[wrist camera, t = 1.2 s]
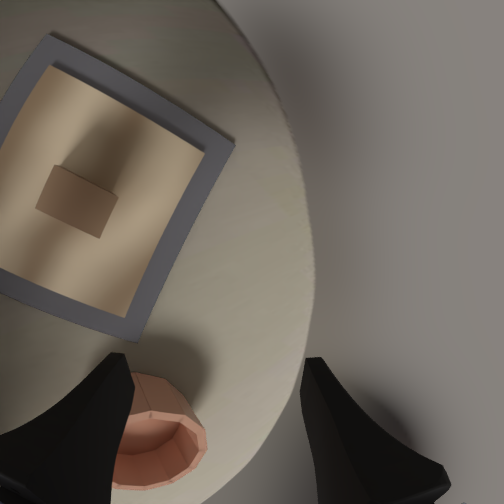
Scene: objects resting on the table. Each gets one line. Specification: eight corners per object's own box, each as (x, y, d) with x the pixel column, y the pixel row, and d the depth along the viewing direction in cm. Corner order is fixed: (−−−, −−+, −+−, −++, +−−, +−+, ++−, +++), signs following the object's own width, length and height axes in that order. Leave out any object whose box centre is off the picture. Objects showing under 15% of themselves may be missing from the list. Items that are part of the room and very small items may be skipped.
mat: (-56, 260, 13) (-58, 262, 12) (47, 36, 13) (46, 33, 12) (136, 340, 22) (137, 343, 22) (232, 145, 23) (235, 145, 22)
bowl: (66, 444, 21) (73, 483, 16) (91, 360, 21) (98, 400, 17) (163, 457, 27) (180, 490, 23) (202, 385, 27) (226, 418, 23)
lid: (-33, 247, 13) (-56, 268, 10) (50, 67, 14) (44, 42, 10) (123, 314, 21) (135, 346, 17) (201, 153, 21) (231, 151, 17)
